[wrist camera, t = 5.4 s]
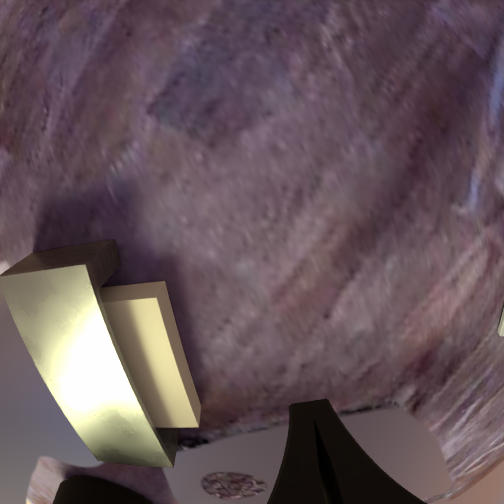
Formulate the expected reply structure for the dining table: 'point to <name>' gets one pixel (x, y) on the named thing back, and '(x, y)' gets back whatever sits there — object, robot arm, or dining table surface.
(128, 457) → the overhang
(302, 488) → the robot arm
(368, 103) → the dining table surface
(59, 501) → the coffee jar
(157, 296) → the cream sticky note pad
